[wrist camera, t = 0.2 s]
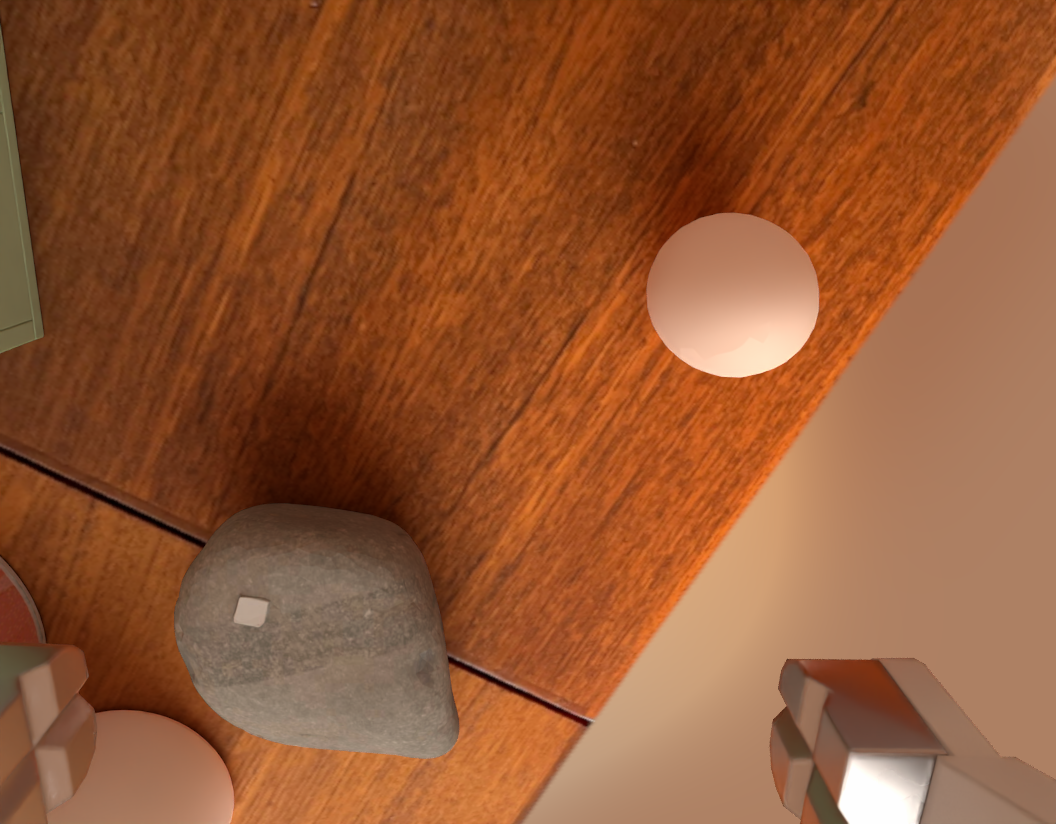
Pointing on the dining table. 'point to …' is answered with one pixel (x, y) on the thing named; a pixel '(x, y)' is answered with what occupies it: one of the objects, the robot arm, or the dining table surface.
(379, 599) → the stone
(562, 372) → the dining table surface
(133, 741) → the mug
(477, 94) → the dining table surface
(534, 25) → the dining table surface
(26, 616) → the canned food
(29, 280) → the carton
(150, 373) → the dining table surface
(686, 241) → the egg
